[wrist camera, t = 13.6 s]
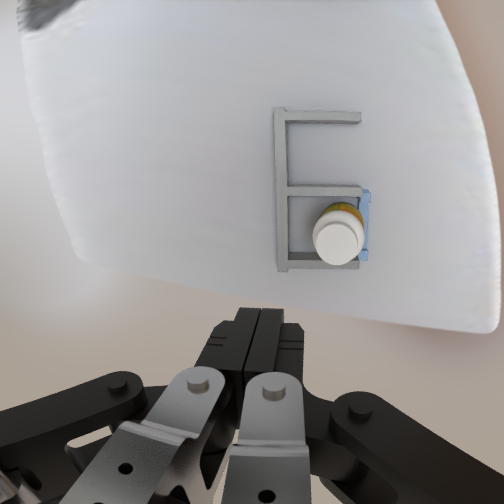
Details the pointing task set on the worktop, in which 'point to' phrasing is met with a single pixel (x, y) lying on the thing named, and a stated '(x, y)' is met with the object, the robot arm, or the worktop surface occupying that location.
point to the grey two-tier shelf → (304, 187)
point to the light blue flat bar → (363, 208)
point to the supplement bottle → (339, 233)
